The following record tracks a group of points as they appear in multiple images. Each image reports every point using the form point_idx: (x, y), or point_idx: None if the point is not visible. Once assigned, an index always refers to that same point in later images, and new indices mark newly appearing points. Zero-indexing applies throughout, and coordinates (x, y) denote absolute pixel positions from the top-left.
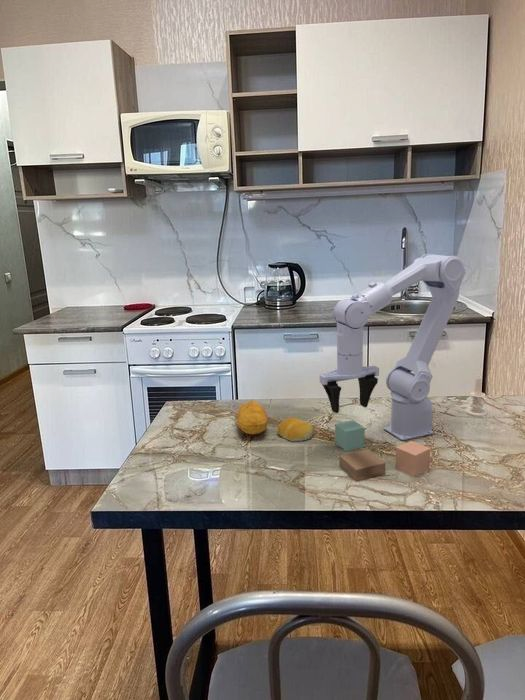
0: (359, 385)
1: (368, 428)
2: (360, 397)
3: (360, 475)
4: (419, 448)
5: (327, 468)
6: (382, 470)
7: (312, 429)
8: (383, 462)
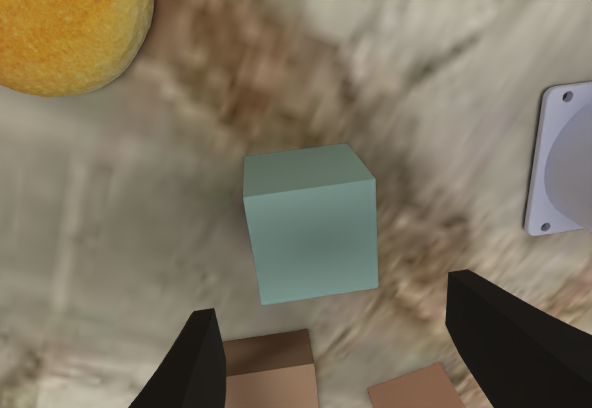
0: (565, 371)
1: (486, 47)
2: (481, 310)
3: None
4: None
5: (139, 348)
6: None
7: (135, 40)
8: None
